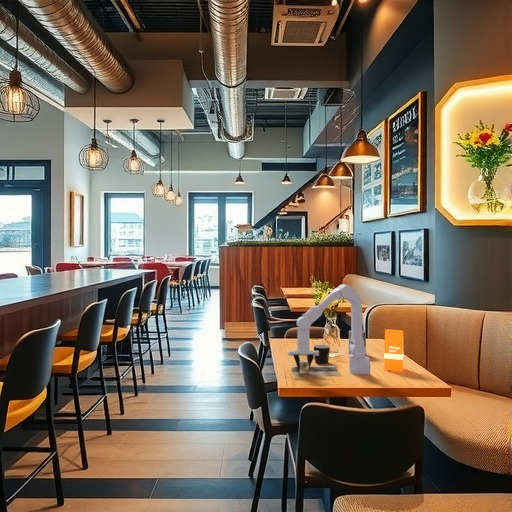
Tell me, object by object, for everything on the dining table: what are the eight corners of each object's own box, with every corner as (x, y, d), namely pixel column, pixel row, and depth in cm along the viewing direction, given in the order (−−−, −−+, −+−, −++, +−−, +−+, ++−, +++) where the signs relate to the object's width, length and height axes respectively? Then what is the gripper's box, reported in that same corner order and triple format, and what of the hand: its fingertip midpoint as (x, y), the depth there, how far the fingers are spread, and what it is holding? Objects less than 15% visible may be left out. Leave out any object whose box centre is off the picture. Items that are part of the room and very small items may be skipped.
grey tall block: (360, 352, 269) (359, 327, 269) (369, 355, 260) (369, 329, 259) (345, 353, 266) (345, 328, 266) (354, 357, 256) (354, 330, 256)
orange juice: (402, 371, 225) (402, 331, 225) (384, 370, 228) (384, 330, 228) (403, 368, 233) (403, 329, 232) (385, 366, 236) (385, 328, 235)
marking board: (335, 372, 224) (335, 365, 224) (341, 379, 212) (341, 372, 212) (291, 373, 222) (291, 366, 222) (295, 380, 210) (295, 372, 210)
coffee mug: (320, 362, 244) (320, 343, 244) (333, 365, 238) (333, 346, 238) (306, 366, 236) (306, 347, 236) (319, 369, 230) (319, 349, 229)
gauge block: (306, 370, 220) (306, 360, 220) (309, 374, 212) (309, 364, 212) (298, 370, 220) (298, 360, 220) (301, 374, 212) (301, 364, 212)
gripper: (316, 340, 222) (316, 368, 222) (287, 340, 221) (287, 368, 221) (319, 343, 215) (319, 372, 215) (289, 343, 214) (289, 372, 214)
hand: (303, 370), depth 217 cm, fingers closed on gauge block, 4 cm apart
